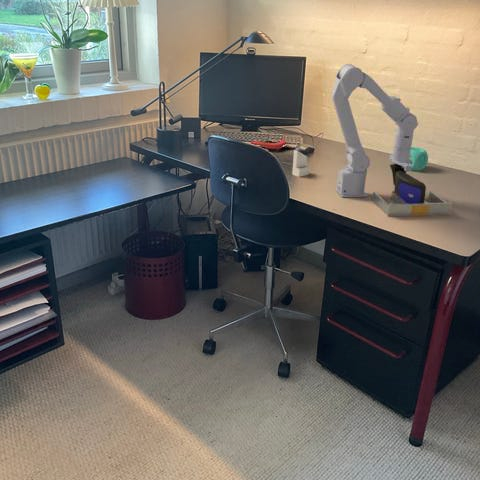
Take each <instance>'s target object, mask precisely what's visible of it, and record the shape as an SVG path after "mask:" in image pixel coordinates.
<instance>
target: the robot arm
mask: <svg viewBox="0 0 480 480" xmlns="http://www.w3.org/2000/svg"><path fill="white" fill-rule="evenodd" d="M358 88H360V89H366V91H368V92H369V93H370V94H371V95H372V96H373V97H374V98H376V100H378V101H379V102H380V103H381V110H382V111H383V112H384V113H385V114H386V115H387V116H388V117H389V118H390V119H391V120H392V121H393V122H395V125H396V129H395V130H396V131H395V138H394V144H393V151H392V153H390V154H389V160H390V161H391V164H389V167H390V169H391V170H390V171H391V173H392V182H393V183H392V184H393V186H395V176H396V172H397V171H399V170H400V171H403V172H405V173H406V174H407V172H412V171H411V168H412V166H411V164H410V162H412V160H411V159H409V158H410V151H411V147H412V144H413V138H414V133H415V132H414V131H415V129H416V128H417V127H418V125H419V122H418V119H417V116H416V115H414V114H413V113H411V112H410V111H411V109H410V108H409V107H406V105H404V104H403V103H402V102H401V101H402V100H401V98H400V97H398V96H395V95H391V96H390V95H388V94H387V92H386V91H384V89H383V88H382V87H381V86H380V85H379V84H378V83H377V82H376V81H375V80H374V78H372V77H371V76H370V75H369V74H367V73H366V72H365V71H363V70H362V69H361V68H359V67H356V66H355V65H353V64H350V63H347V64H344V65H342V66H341V68H340V69H338V72H337V73H336V74H335V81H334V85H333V88H332V92H331V99H332V102H333V106H334V110H335V112H336V116H337V119H338V122H339V125H340V126H339V127H340V128H341V132H342V136H343V140H344V143H345V150H346V154H345V159H346V162H347V165H346V166H345V168H344V169H339V170H338V173H337V180H336V188H335V191H336V192H337V193H338V195H340V196H341V198H358V197H359V198H362V197H363V198H367V197H368V194H367V193H366V192H365V186H366V181H367V174H368V169H369V167H370V165H371V161H370V158H369V156H368V155H367V154H366V153H365V149H364V147H363V145H362V143H361V140H360V135H359V132H358V129H357V126H356V125H357V124H356V122H355V118H354V116H353V112H352V111H353V110H352V109H351V105H350V102H349V98H350V96H351V95H352V93H353V92H354V91H355V90H356V89H358Z"/></svg>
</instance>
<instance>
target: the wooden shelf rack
mask: <svg viewBox="0 0 480 480" xmlns="http://www.w3.org/2000/svg"><path fill="white" fill-rule="evenodd" d="M427 199H428V200H429V201H430V202H427V201H426V200H425V201H424V203H407V202H405V201H404V200H403V199H402V198H401V197H400V196H399V195H398V194H397V193H396V192H395V191H394V190H393V191H391V198H390V201H391V202H392V203H388V202H387V201H386V200H384V198H383V197H381V196H380V195H379V194H378V193H377V192H376V191H373V192H372V198H371V202H373V203H374V204H375V205H376V206H377V207H378V208H379V209H380V210H381V211H382V212H383V213H384V214H385V215H386V216H387V217H412V216H414V217H415V216H416V217H418V216H422V217H423V216H424V217H425V216H426V215H427V216H451V213H452V207H453V203H452V202H447V201H446V200H444V199H443V198H442V197H440V196H439V195H438V194H436V193H435V192H433V190H432V191H431V190H430V191H428V196H427Z"/></svg>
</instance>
